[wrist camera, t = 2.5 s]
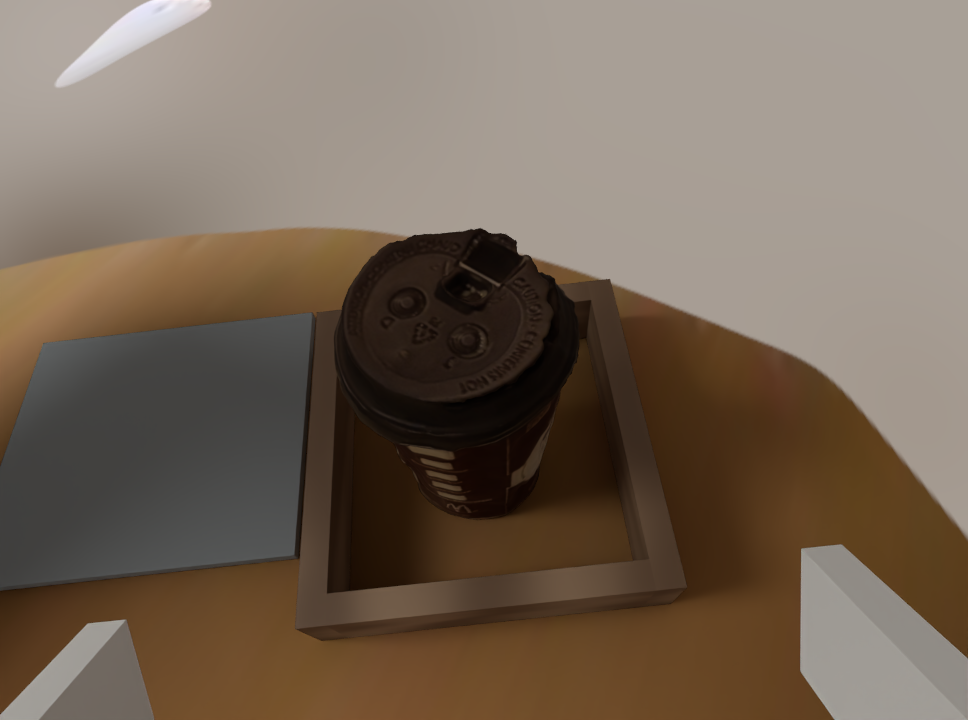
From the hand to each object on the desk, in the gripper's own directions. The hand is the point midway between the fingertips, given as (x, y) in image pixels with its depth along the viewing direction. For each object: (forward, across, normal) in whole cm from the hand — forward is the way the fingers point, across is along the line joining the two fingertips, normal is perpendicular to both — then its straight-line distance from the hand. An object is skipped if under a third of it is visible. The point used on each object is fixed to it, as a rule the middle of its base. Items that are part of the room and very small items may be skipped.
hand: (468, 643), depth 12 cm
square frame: (+19, 0, -4) cm, 19 cm away
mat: (+21, -17, -2) cm, 27 cm away
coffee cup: (+19, 0, -4) cm, 19 cm away
